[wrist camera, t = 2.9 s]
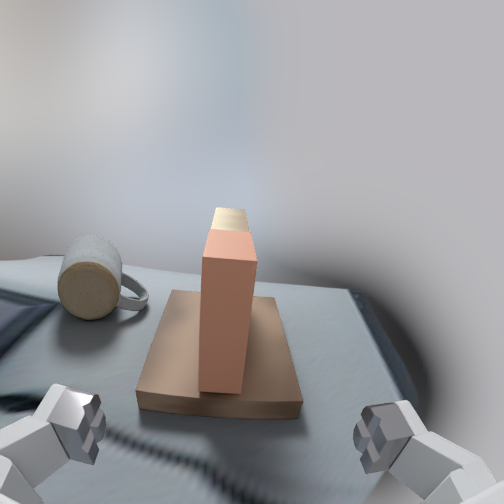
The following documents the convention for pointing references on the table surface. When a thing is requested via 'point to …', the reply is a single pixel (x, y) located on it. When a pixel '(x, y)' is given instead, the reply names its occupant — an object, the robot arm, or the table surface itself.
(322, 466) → the table surface
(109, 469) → the table surface
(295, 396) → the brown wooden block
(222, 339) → the block
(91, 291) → the ceramic mug
